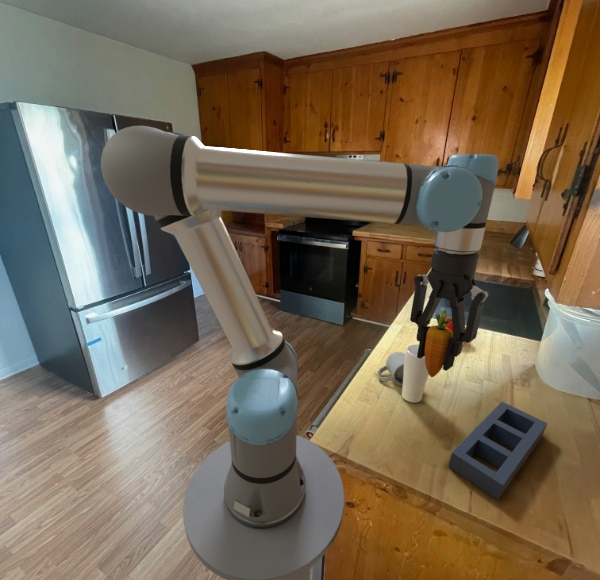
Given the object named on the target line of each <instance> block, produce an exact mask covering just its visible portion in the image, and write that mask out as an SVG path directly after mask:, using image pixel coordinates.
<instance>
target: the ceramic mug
mask: <svg viewBox="0 0 600 580" xmlns="http://www.w3.org/2000/svg"><path fill="white" fill-rule="evenodd" d="M404 358H405V353H404V352H401V351H395V352H393V353H391V354H390V355H388V357H387V359H386V360H385V361H386V363H385V365H384V366H382V367H380V368H379V369H378V370H377V373H376V374H377V377H378V379H379V381H381V382H382V383H383V382H384V383H388V382H392V381H393V382H394V383H395V384H396V385H398V386H402V387H403V371H404ZM386 371H388V372H389V375H390V376H382V373H384V372H386Z"/></svg>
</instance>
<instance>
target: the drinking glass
mask: <svg viewBox="0 0 600 580" xmlns="http://www.w3.org/2000/svg"><path fill="white" fill-rule="evenodd" d="M418 348H419V344H410V345H407V347H406V349H405V353H404V354H405V358H404V371H403V386H402V389H401V396H402V398H403V399H404V400H405V401H406V402H408V403H411V404H412V403H413V404H414V403H415V404H416V403H420V402H421V401H422V400H423V399H422V398H423V394H424V390H425V387H426V383H427V380H428V377H429V376H430V375H429V373H428V371H427V368H426V364H425V356H424V357H422V358H421V359H419V358H417V354H418Z"/></svg>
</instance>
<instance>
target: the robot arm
mask: <svg viewBox="0 0 600 580" xmlns="http://www.w3.org/2000/svg"><path fill="white" fill-rule="evenodd" d="M499 164H500V162H499V158H498V157H497V156H496V155H494V154H490V153H489V154H487V153H474V154H472V153H468V154H453V155H451V156H450V157H449V158H448V161H447V164H446V165H443V166H438V165H437V166H436V165H425V164H415V163H414V164H411V163H407V164H406V163H402V162H393V161H391V162H390V161H379V160H368V159H358V158H356V159H355V158H347V157H346V158H345V157H335V156H334V157H333V156H321V155H310V154H300V153H299V154H297V153H285V152H273V151H264V150H263V151H262V150H252V149H239V148H228V147H217V146H205V145H204V144H203V143H202V141H201V140H200V139H199V138H198V137H196V136H194V135H184V134H182V133H179V132H172V131H165V130H162V129H159V128H156V127H151V126H148V125H132V126H127V127H125V128H121V129H120V130H118V131H117V132H116V133H114V134H112V135H111V137H110V138H109V139H108V140H107V142H106V143H105V145H104V148H103V149H102V152H101V158H100V171H101V174H102V177H103V178H102V179H103V181H104V183H105V186H106V187H107V189H108V191H109V192H110V194H111V195H112V196H113V197H114V198H115V199H116V200H117V201H118V202H119V203H120V204H121V205H122V206H124V207H125V208H127V209H129V210H130V211H133V212H135V213H138V214H141V215H144V216H153V217H154V219H155V221H156V223H157V224H158V226H159V229H160V230H161V231H162V232H166V233H168V234H171V235H172V236H174V238H175V240H176V241H177V244H178V245H179V247H180V249H181V252H182V253H183V256H184V257H185V258H186V260H187V262H188V264H189V266H190V268H191V271H192V272H193V274H194V276H195V278H196V280H197V282H198V284H199V286H200V288H201V290H202V292H203V294H204V295H205V297H206V300H207V301H208V303H209V305H210V307H211V309H212V312H213V313H214V315H215V317H216V318H217V321H218V322H219V324H220V327H221V329H222V330H223V333H224V334H225V336H226V338H227V340H228V342H229V344H230V346H231V351H230V353H229V358H228V359H229V362H230V363H231V365H232V367H233V368H234V369H233V370H234V371H235V372H236V375H237V377H238V378H237V379H235V381H234V382H233V383H232V385H231V386H230V388H229V390H228V392H227V397H226V405H225V412H226V420H227V426H228V427H227V428H228V435H229V441H230V448H231V458H232V463H231V466H230V469H229V472H228V475H227V477H226V480H225V485H224V495H225V503H226V506H227V509H228V511H229V512H230V514H231V515H232V517H233V518H234V519H235V520H237V521H238V522H239V523H241V524H243V525H245V526H247V527H250V528H255V529H269V528H273V527H277V526H279V525H281V524H283V523H285V522H287V521H288V520H290V519H291V518H292V517H293V516H294V515H295V514H296V513H297V512H298V510H299V509H300V507H301V505H302V503H303V501H304V497H305V485H306V482H305V475H304V472H303V470H302V467H301V465H300V463H299V460H298V458H297V456H296V437H297V435H298V434H297V433H298V432H297V431H298V430H297V427H298V410H299V397H298V385H299V384H298V382H299V381H298V380H299V379H298V377H299V371H300V369H299V368H300V367H299V360H298V359H299V358H298V356H297V353H296V350H295V349H294V348H293V346H292V344H290V343H289V342H288V341H287V340H286V339H285V338H284V335H283V334H282V332H281V331H279V330H277V329H274V328H272V327H271V324H270V323H269V320H268V318H267V315H266V313H265V311H264V309H263V307H262V305H261V302H260V300H259V298H258V296H257V294H256V290H255V289H254V287H253V285H252V283H251V280H250V278H249V275H248V274H247V271H246V270H245V268H244V265H243V263H242V261H241V259H240V257H239V254H238V252H237V250H236V247H235V245H234V243H233V240H232V239H231V236H230V234H229V231H228V230H227V227H226V226H225V223H224V221H223V218H222V214H223V213H222V212H236V213H237V212H238V213H249V214H250V213H251V214H261V215H263V214H264V215H275V216H276V215H277V216H289V217H301V218H302V217H303V218H313V219H327V220H340V221H353V222H355V221H356V222H368V223H381V224H391V225H398V226H399V225H400V226H411V227H413V226H414V227H422V228H425V229H427V230H429V231H431V232H435V239H434V246H435V248H434V250H432V257H431V263H430V271H429V272H428V273H427V274H425V273H421V274H418V275H415V276H414V277H413V282H414V293H413V299H412V305H411V311H410V317H409V320H410V322H411V323H414V324H416V325H417V332H416V341H417V342H418V345H419V348H418V354H417V358H419V359H421V358H422V357H424V356H425V343H426V336H427V332H428V330H429V328H430V327H431V326H430V325H431V320H432V318H433V316H434V314H435V312H436V310H437V308H438V306H439V304H440V303H441V300H442V299H445V300H446V301H448V302H449V307H450V310H451V318H452V326H453V338H451V339H450V340H449V341H448V346H447V351H446V355H445V360H444V365H443V367H442V370H443V371H448V370H450V369H451V368H453V367H454V365H455V359H456V357H458V356H460V355H461V354H462V350H463V347H464V346H463V345H464V343H466V344H470V343H472V342H473V341H474V340H475V339H476V338H477V335H478V331H479V326H480V321H481V318H482V313H483V308H484V304H485V302H486V300H487V299H488V298H489V296H490V295H491V293H490V291H489V290H488V289H485V290H483V289H481V287H478V286H477V285H476V281H475V275H476V273H477V267H478V262H479V259H480V254H479V252H478V251H480V250H481V249H482V245H483V240H484V235H485V231H486V225H487V221H488V219H489V218H488V217H489V213H490V208H491V205H492V201H493V195H494V191H495V188H496V187H497V179H498V173H499ZM428 285H430V287H431V292H430V294H429V296H428V300H427V302H426V305H425V301H426V296H427V291H428ZM469 293H471V296H470V299H471V300H472V301H471V303H470V307H469V311H468V316H467V320H466V316H465V315H466V314H465V304H466V296H467V294H469Z"/></svg>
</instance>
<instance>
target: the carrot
mask: <svg viewBox="0 0 600 580" xmlns="http://www.w3.org/2000/svg"><path fill="white" fill-rule="evenodd" d="M441 311H442V312H441V314H440V313H439V312H437V313H436V314H435V318H436V323H437V325H436V324H435V325H431V326H430V328H429V330H428V332H427V336H426V343H425V364H426V368H427V371H428V373H429V375H428V376H429V377H430V378H434V377H436V376H437V375H438V374H439V373H440V371H441V370H443V365H444V360H445V355H446V351H447V346H448V341H449V340H450V339H451V338H452V337H453V332H452V331H451V330H450V329H448V328H447V327H446V325H447V324H448V323H449V322H451V321H452V317H448V314H447V310H446V309H443V310H441ZM447 317H448V318H449V319H448V320H445V318H447ZM444 320H445V321H444Z"/></svg>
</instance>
